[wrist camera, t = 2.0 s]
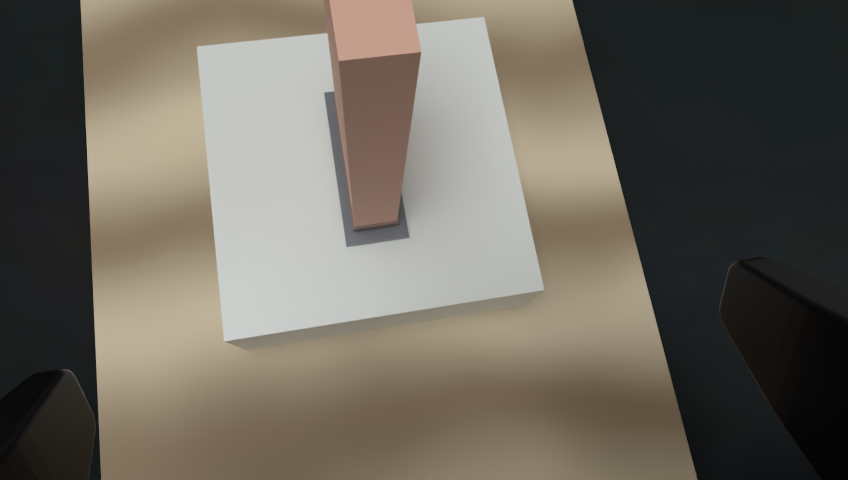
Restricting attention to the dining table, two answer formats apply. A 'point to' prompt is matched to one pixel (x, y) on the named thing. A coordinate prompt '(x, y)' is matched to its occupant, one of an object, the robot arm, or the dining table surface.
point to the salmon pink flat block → (373, 100)
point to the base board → (374, 349)
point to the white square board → (328, 199)
